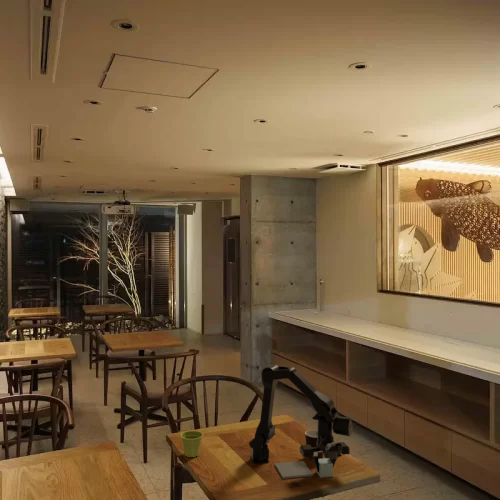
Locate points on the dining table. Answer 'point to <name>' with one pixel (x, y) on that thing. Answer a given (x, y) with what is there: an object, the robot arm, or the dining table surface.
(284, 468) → the coaster
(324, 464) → the cube
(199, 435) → the plant pot
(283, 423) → the dining table surface
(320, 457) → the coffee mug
